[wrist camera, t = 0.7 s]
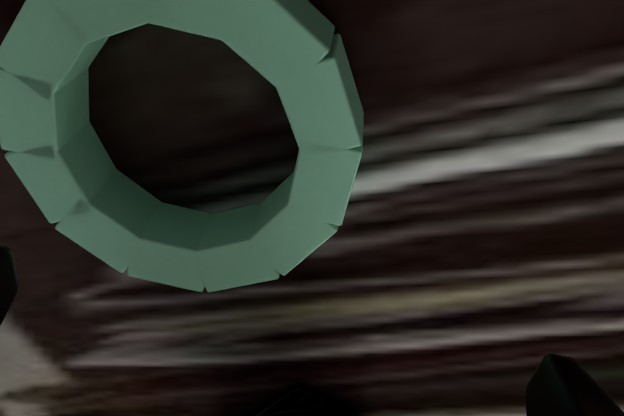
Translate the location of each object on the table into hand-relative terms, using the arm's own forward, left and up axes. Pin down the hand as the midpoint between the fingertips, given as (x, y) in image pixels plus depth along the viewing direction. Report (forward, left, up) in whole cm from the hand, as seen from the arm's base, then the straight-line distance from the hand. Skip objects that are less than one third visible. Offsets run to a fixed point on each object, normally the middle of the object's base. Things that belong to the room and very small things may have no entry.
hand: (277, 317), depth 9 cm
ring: (-5, +2, -12) cm, 13 cm away
